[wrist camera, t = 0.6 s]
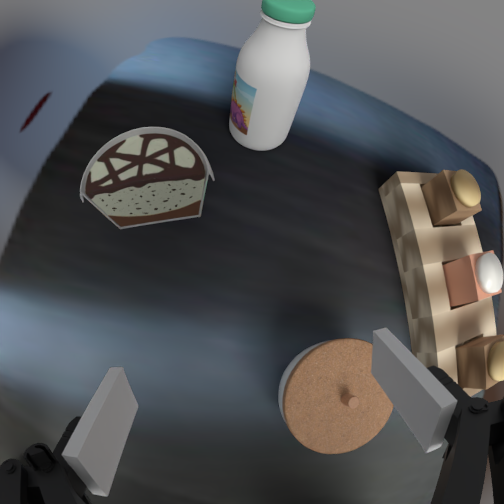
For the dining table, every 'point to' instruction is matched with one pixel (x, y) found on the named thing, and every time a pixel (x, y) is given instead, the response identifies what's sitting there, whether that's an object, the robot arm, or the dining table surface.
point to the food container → (147, 178)
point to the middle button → (473, 278)
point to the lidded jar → (333, 396)
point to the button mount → (432, 274)
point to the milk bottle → (271, 75)
